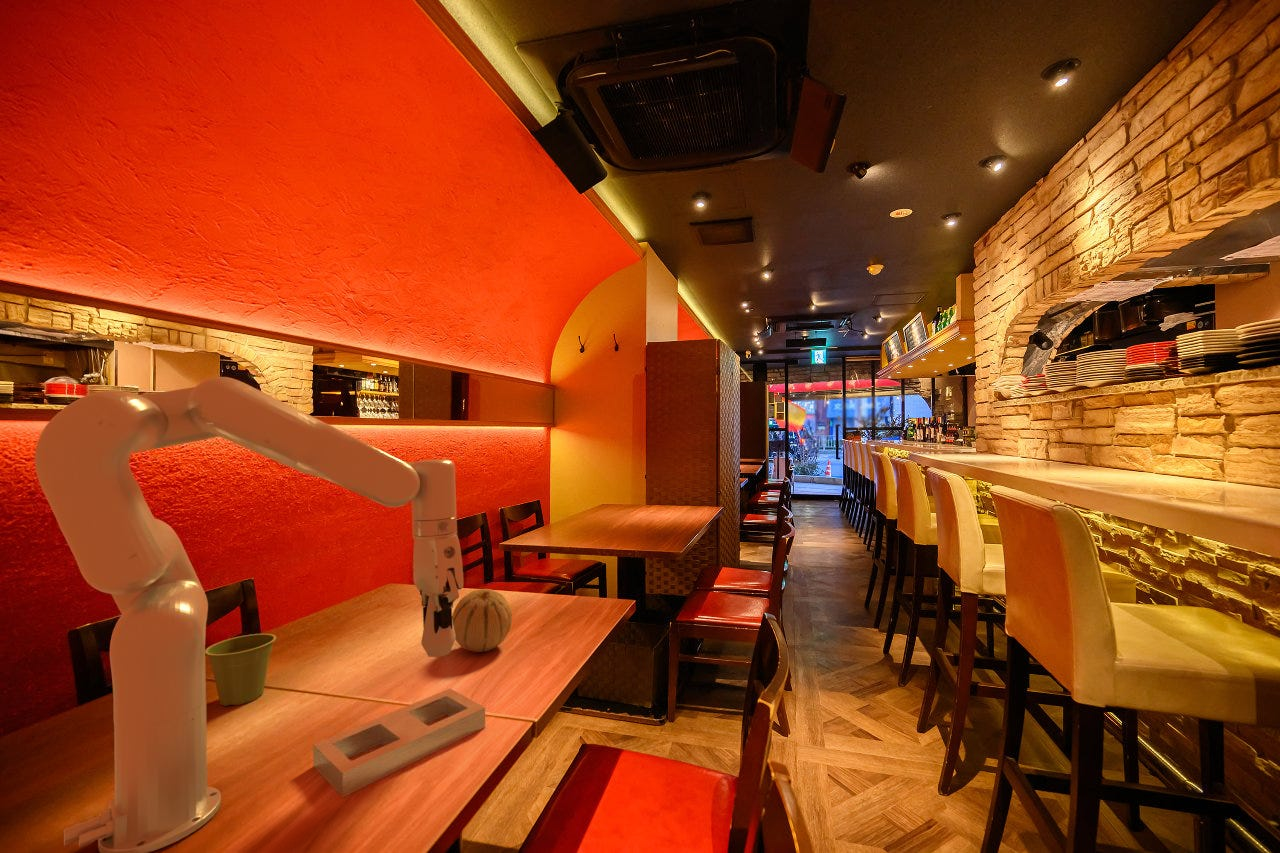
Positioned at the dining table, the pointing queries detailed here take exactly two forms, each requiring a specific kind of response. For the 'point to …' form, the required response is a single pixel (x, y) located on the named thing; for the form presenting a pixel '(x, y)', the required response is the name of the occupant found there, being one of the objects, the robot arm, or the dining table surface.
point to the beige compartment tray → (396, 740)
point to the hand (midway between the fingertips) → (437, 628)
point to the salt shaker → (443, 638)
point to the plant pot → (240, 667)
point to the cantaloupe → (481, 620)
